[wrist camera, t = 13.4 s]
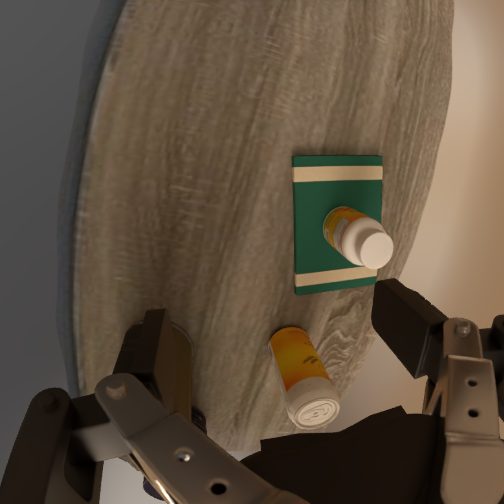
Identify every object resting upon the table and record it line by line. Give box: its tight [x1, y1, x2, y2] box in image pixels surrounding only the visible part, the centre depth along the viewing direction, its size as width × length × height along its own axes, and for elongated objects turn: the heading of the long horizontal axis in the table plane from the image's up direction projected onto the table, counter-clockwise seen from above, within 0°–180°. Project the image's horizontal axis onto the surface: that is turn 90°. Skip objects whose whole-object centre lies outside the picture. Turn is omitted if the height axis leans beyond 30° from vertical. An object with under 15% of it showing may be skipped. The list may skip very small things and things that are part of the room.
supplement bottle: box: [323, 206, 393, 269], centre depth 35 cm, size 5×5×10 cm
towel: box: [292, 155, 383, 295], centre depth 40 cm, size 18×12×1 cm, turn 3°
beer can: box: [268, 327, 340, 429], centre depth 38 cm, size 6×6×15 cm
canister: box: [118, 321, 194, 471], centre depth 34 cm, size 11×10×20 cm
